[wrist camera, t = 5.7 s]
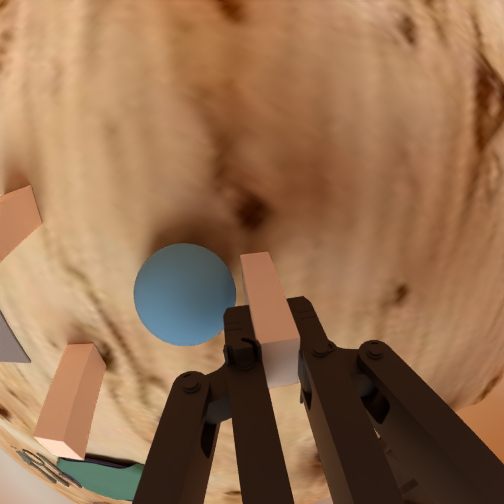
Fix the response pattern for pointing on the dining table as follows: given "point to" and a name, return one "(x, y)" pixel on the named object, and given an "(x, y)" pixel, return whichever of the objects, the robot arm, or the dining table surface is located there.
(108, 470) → the cutlery set
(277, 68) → the dining table surface
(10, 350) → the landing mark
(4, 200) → the gate post
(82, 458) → the gate post
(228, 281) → the ball
